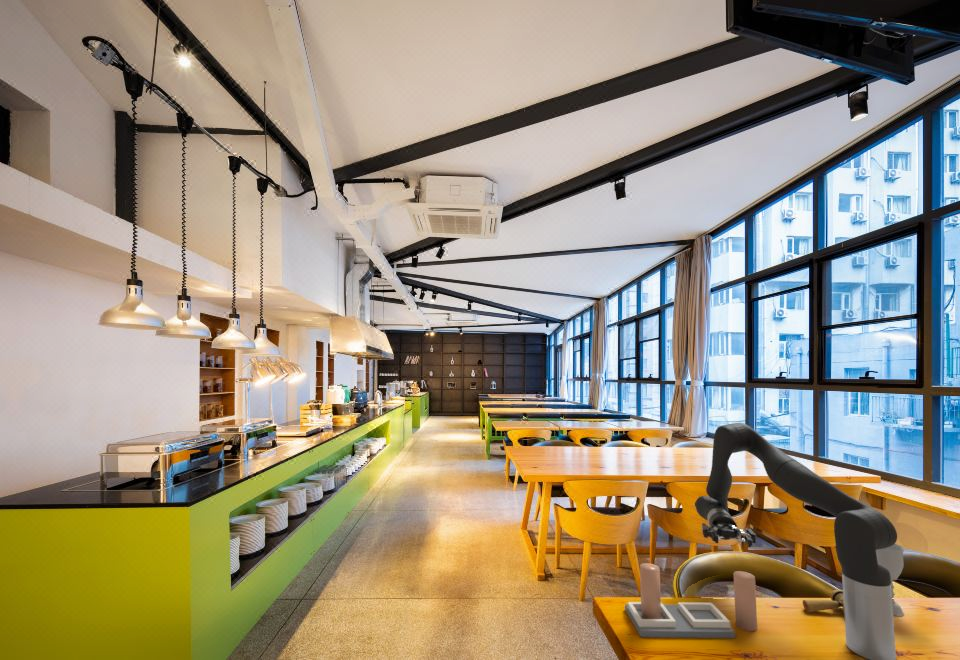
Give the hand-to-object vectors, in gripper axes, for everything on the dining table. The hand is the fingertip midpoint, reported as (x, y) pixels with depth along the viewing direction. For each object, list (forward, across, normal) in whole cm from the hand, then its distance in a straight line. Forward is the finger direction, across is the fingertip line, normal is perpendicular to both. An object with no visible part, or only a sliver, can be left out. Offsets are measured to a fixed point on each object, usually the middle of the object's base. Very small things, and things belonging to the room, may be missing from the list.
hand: (733, 541), depth 133 cm
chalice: (-10, +42, +18) cm, 46 cm away
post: (+11, 0, +18) cm, 21 cm away
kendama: (-4, +27, +18) cm, 33 cm away
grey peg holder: (+16, -17, +18) cm, 29 cm away
